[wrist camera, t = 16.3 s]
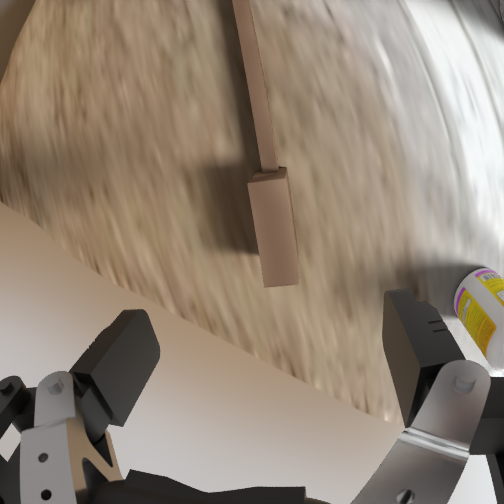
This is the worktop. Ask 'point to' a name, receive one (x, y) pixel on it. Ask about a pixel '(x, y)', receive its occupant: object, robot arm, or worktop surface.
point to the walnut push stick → (267, 171)
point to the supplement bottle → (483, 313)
